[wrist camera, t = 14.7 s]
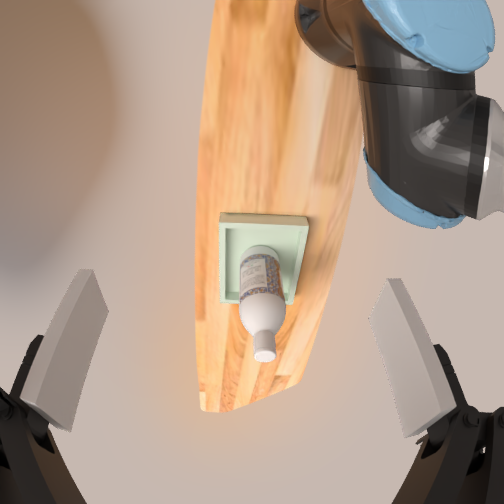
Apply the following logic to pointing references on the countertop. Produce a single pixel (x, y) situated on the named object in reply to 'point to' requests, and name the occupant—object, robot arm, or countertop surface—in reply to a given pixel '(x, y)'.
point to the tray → (260, 234)
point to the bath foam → (261, 299)
